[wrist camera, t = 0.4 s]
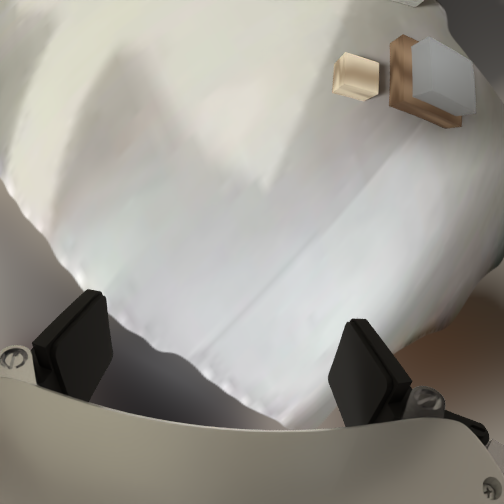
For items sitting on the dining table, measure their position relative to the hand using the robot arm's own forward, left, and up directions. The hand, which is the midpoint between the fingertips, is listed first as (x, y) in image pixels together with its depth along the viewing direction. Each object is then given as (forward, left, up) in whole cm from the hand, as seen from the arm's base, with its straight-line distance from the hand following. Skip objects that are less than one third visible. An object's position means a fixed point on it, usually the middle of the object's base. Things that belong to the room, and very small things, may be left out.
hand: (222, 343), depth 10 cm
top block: (-26, +27, -26) cm, 45 cm away
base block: (-26, +27, -31) cm, 48 cm away
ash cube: (-22, +14, -30) cm, 40 cm away
